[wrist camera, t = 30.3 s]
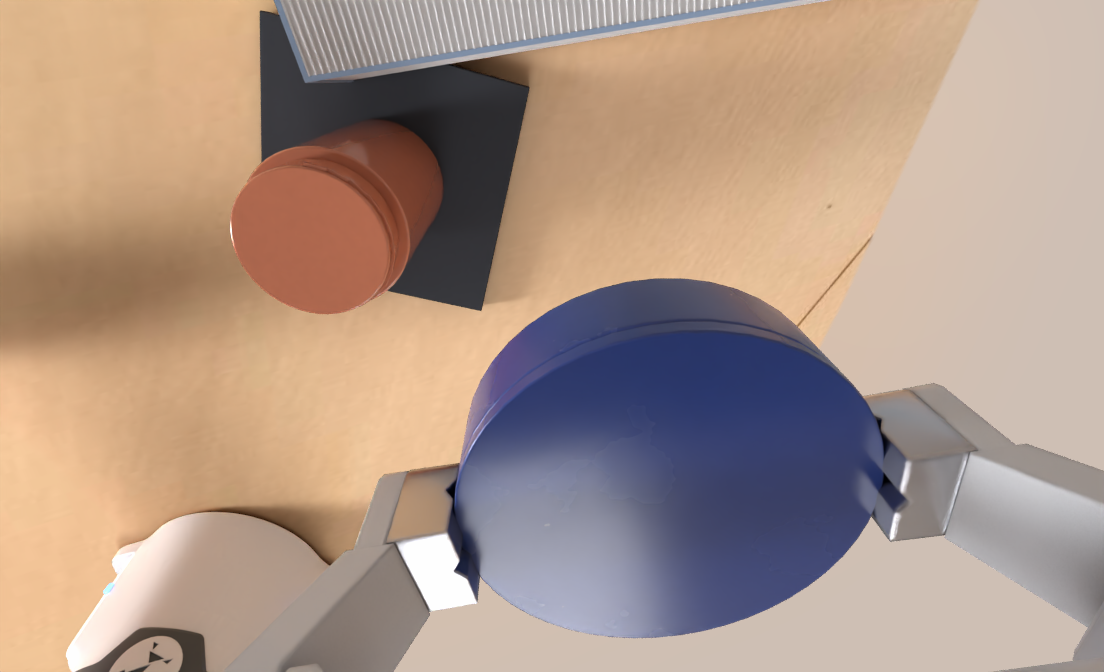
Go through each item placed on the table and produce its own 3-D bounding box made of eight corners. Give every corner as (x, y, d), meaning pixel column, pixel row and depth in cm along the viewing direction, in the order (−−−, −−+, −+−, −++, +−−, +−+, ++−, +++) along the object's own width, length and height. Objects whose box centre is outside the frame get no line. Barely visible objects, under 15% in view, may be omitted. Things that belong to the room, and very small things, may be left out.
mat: (482, 305, 32) (481, 311, 32) (268, 259, 30) (262, 264, 30) (529, 86, 26) (529, 87, 26) (267, 11, 24) (259, 10, 24)
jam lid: (849, 239, 8) (929, 287, 6) (816, 532, 11) (862, 610, 10) (419, 318, 8) (392, 380, 7) (511, 577, 12) (507, 659, 10)
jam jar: (434, 250, 30) (390, 338, 20) (321, 224, 29) (221, 304, 19) (452, 137, 27) (410, 181, 17) (327, 104, 26) (211, 131, 16)
